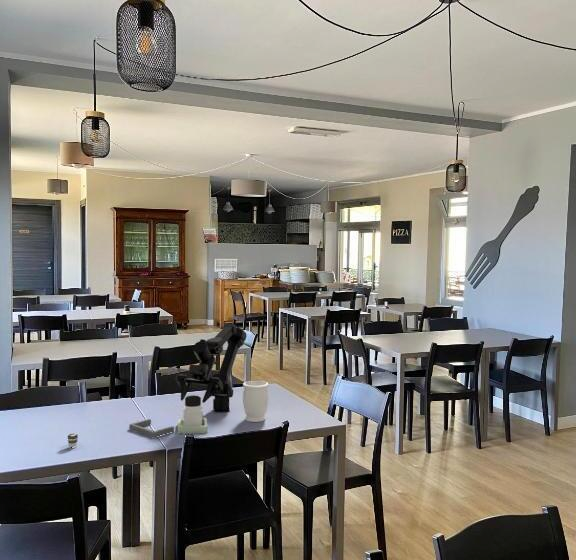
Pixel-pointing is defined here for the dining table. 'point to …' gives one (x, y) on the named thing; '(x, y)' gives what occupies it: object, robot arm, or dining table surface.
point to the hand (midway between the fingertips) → (192, 401)
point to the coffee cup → (72, 440)
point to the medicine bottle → (192, 411)
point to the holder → (139, 428)
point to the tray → (192, 427)
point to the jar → (255, 400)
